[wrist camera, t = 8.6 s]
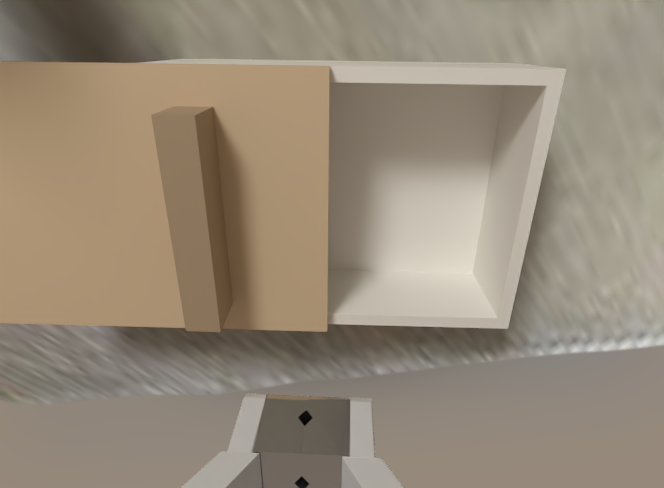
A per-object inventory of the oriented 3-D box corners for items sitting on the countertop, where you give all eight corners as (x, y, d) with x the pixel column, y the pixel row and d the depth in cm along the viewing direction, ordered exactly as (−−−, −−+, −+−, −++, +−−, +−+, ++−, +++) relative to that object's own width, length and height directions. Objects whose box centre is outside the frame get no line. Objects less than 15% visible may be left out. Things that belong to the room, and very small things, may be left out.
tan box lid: (329, 65, 22) (327, 69, 19) (327, 324, 29) (325, 362, 25) (-92, 59, 22) (-171, 62, 19) (3, 316, 29) (-42, 352, 26)
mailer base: (516, 63, 28) (566, 68, 22) (478, 277, 35) (507, 328, 29) (182, 58, 29) (136, 62, 22) (208, 270, 35) (179, 320, 29)
